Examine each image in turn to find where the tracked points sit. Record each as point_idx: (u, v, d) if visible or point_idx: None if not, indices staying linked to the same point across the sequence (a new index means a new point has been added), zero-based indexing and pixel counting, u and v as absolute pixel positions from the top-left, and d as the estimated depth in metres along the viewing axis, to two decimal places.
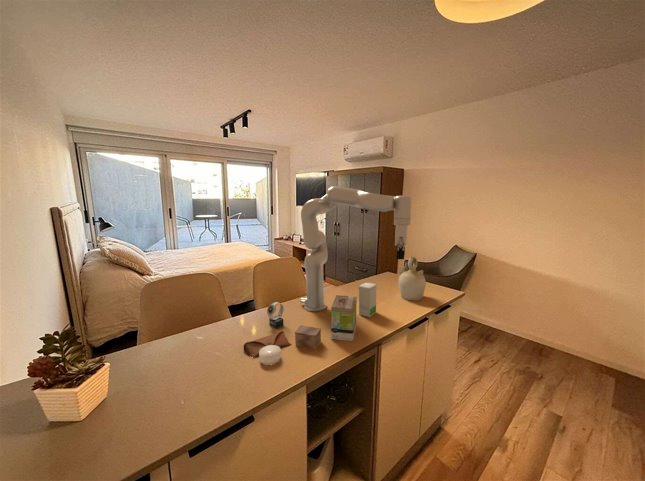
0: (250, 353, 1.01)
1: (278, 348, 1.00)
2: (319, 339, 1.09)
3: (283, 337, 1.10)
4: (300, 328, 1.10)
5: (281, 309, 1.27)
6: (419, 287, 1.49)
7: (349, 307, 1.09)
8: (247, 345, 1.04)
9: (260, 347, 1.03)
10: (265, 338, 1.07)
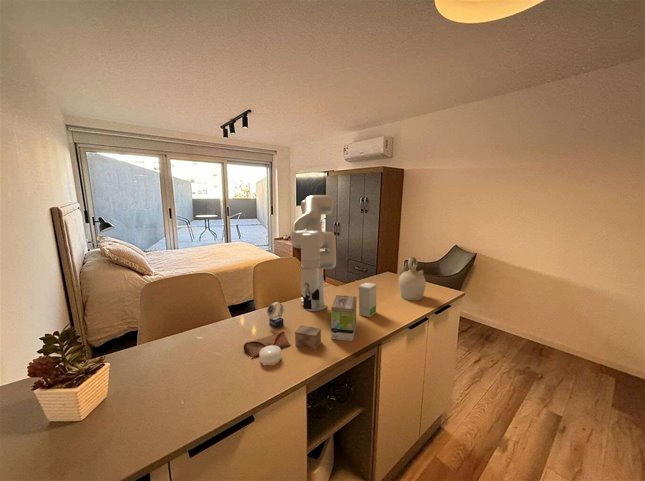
0: (250, 353, 1.01)
1: (278, 348, 1.00)
2: (319, 339, 1.08)
3: (283, 338, 1.10)
4: (300, 328, 1.10)
5: (281, 309, 1.27)
6: (419, 287, 1.49)
7: (349, 307, 1.09)
8: (247, 345, 1.04)
9: (260, 347, 1.03)
10: (265, 338, 1.07)
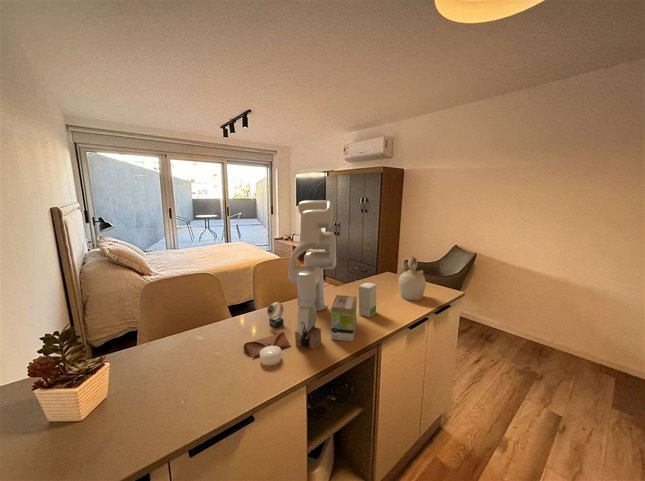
0: (249, 354, 1.01)
1: (279, 348, 1.00)
2: (319, 339, 1.08)
3: (284, 338, 1.09)
4: None
5: (281, 309, 1.27)
6: (419, 287, 1.49)
7: (349, 307, 1.09)
8: (247, 345, 1.03)
9: (260, 348, 1.03)
10: (265, 339, 1.07)
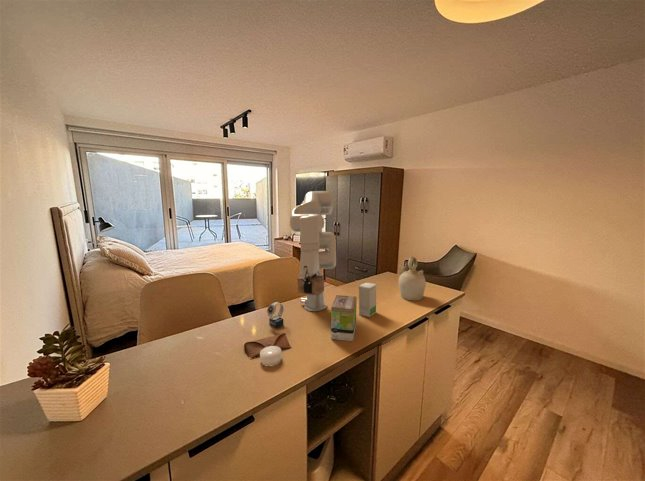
0: (249, 353, 1.01)
1: (279, 349, 1.00)
2: (322, 286, 1.06)
3: (284, 339, 1.08)
4: None
5: (281, 309, 1.27)
6: (419, 287, 1.49)
7: (349, 307, 1.09)
8: (247, 345, 1.04)
9: (259, 348, 1.03)
10: (265, 339, 1.06)
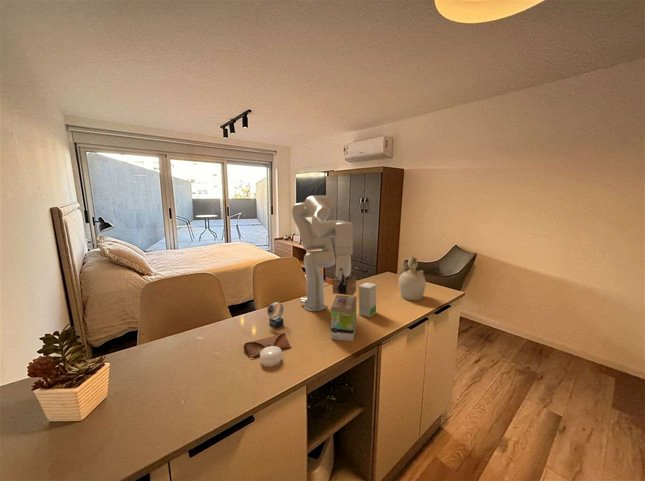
0: (249, 354, 1.01)
1: (279, 349, 1.00)
2: (355, 287, 1.15)
3: (284, 339, 1.08)
4: None
5: (281, 309, 1.27)
6: (419, 287, 1.49)
7: (349, 307, 1.09)
8: (247, 345, 1.04)
9: (259, 348, 1.03)
10: (265, 339, 1.06)
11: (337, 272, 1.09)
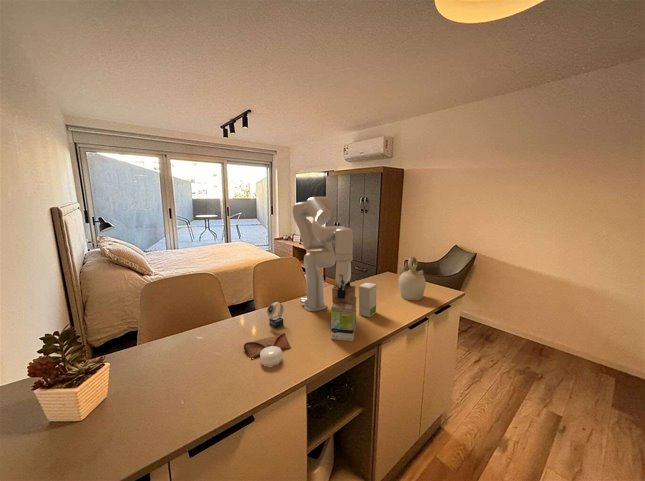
0: (248, 354, 1.01)
1: (279, 349, 0.99)
2: (354, 296, 1.16)
3: (284, 340, 1.08)
4: (336, 286, 1.17)
5: (281, 309, 1.27)
6: (419, 287, 1.49)
7: (349, 307, 1.09)
8: (247, 345, 1.03)
9: (259, 348, 1.02)
10: (265, 340, 1.06)
11: (337, 278, 1.10)
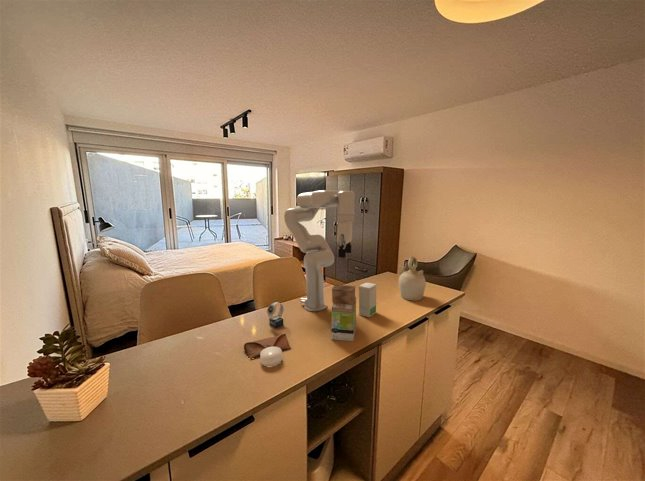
0: (248, 354, 1.01)
1: (279, 349, 0.99)
2: (354, 296, 1.16)
3: (284, 340, 1.08)
4: (336, 286, 1.17)
5: (281, 309, 1.27)
6: (419, 287, 1.49)
7: (349, 307, 1.09)
8: (247, 345, 1.03)
9: (259, 349, 1.02)
10: (265, 340, 1.06)
11: (338, 238, 1.16)
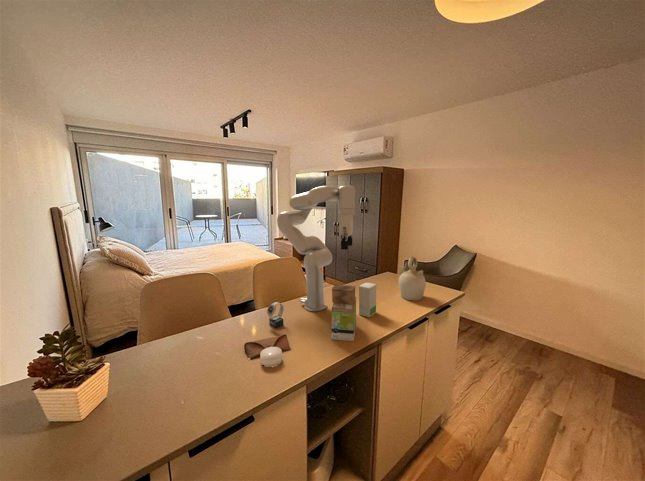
0: (248, 354, 1.01)
1: (279, 349, 0.99)
2: (354, 296, 1.15)
3: (284, 341, 1.07)
4: (336, 286, 1.17)
5: (281, 309, 1.27)
6: (419, 287, 1.49)
7: (349, 307, 1.09)
8: (247, 345, 1.04)
9: (259, 349, 1.02)
10: (265, 340, 1.06)
11: (340, 230, 1.21)
